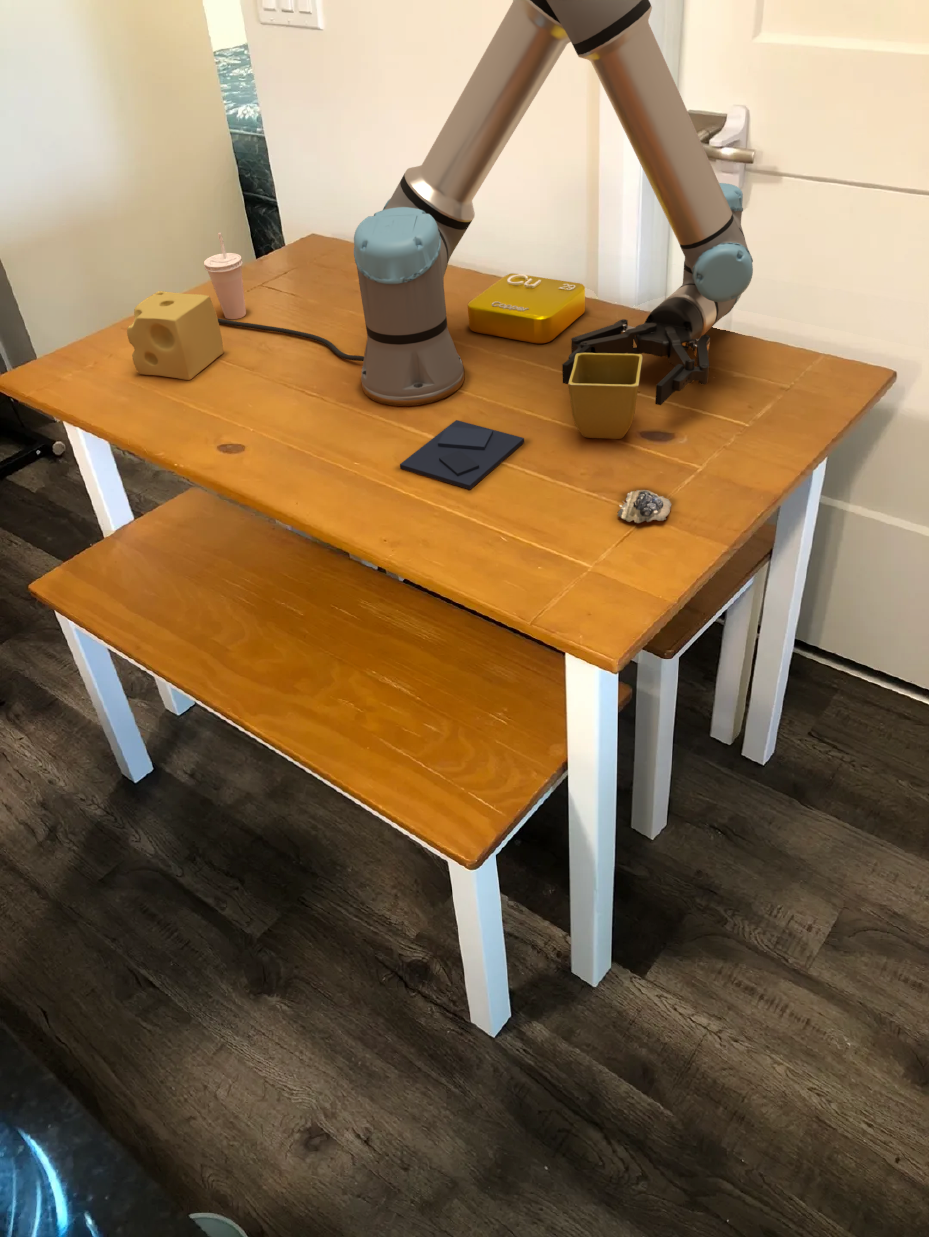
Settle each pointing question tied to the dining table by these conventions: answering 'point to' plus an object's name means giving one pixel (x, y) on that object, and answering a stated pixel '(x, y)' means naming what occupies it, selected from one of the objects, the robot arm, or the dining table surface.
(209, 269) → the smoothie
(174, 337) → the cheese
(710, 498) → the dining table surface
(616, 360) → the flower pot
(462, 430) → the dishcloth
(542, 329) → the element tile
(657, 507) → the grey mineral rock
